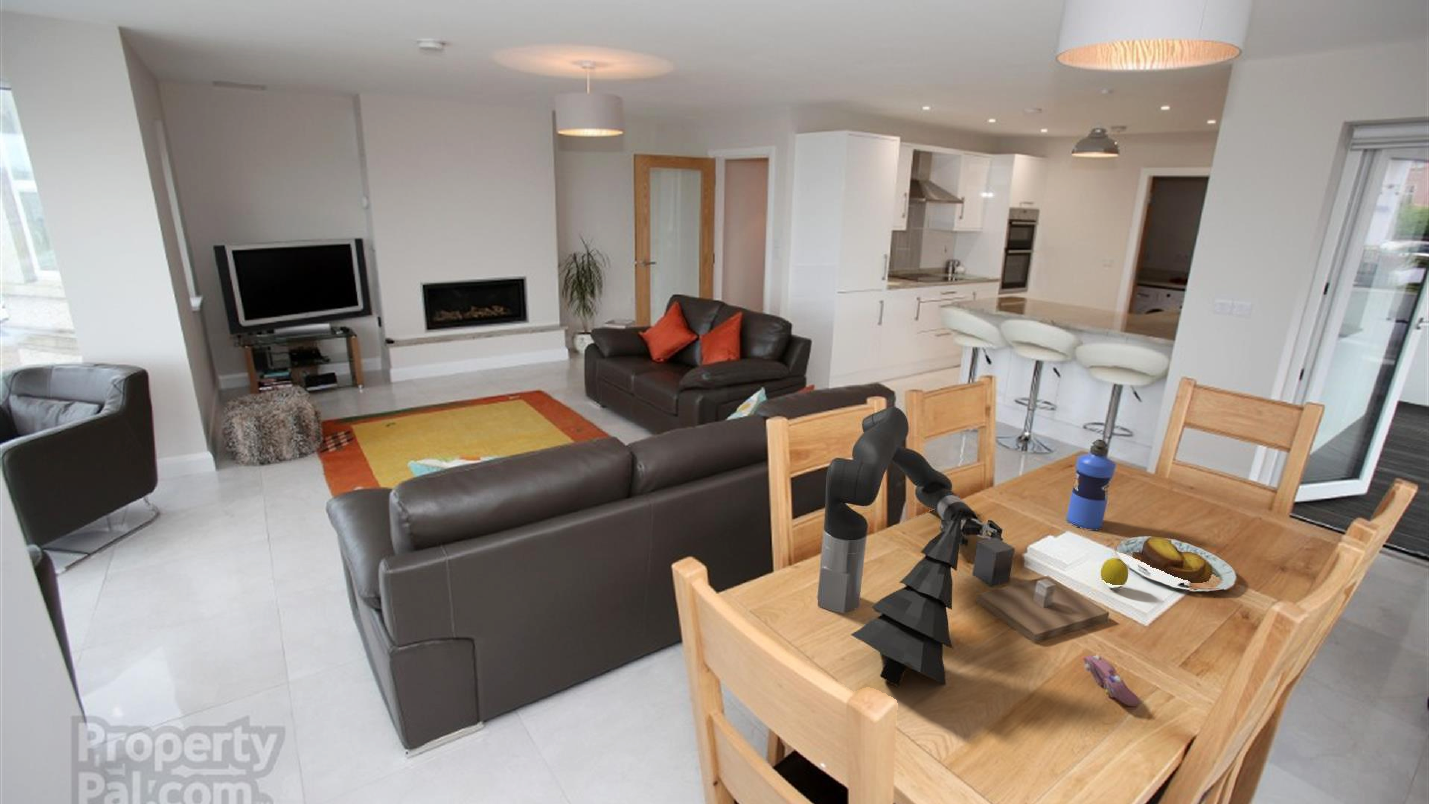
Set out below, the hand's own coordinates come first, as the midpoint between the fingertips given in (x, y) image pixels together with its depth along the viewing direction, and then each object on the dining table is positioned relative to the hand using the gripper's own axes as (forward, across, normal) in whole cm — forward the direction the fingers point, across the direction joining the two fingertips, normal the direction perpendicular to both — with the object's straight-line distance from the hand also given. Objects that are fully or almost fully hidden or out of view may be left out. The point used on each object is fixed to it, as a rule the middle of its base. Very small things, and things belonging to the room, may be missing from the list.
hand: (983, 543), depth 168 cm
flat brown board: (+19, +5, +6) cm, 21 cm away
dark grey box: (+6, 0, +6) cm, 9 cm away
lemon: (+10, +28, +7) cm, 30 cm away
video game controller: (+44, +4, +7) cm, 45 cm away
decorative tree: (+37, -30, +7) cm, 48 cm away
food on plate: (+1, +50, +7) cm, 50 cm away
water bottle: (-24, +42, +6) cm, 48 cm away
